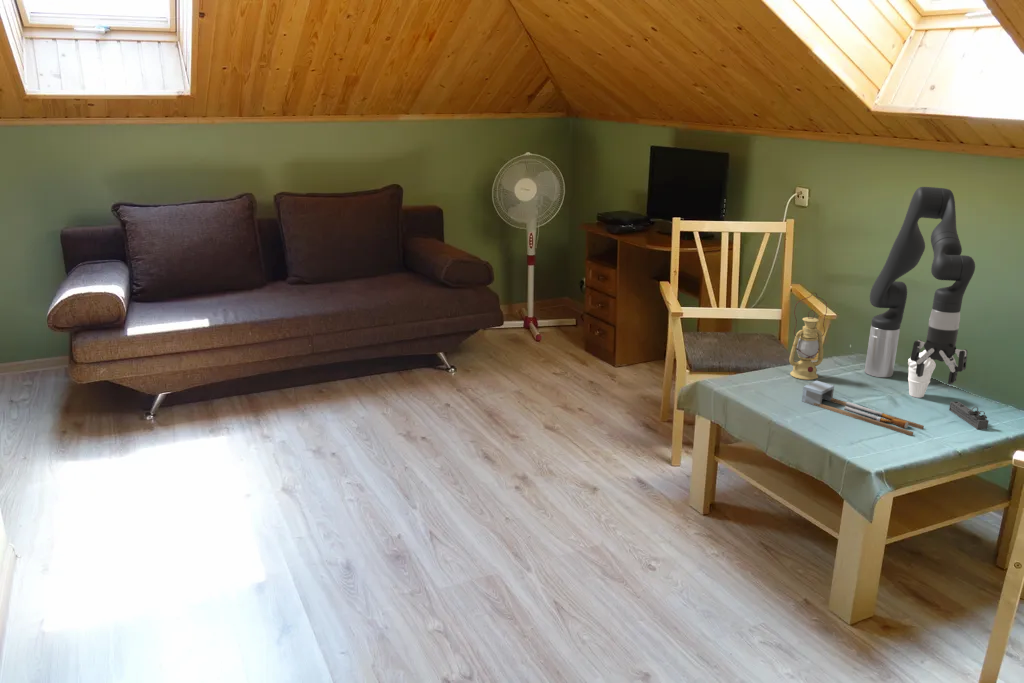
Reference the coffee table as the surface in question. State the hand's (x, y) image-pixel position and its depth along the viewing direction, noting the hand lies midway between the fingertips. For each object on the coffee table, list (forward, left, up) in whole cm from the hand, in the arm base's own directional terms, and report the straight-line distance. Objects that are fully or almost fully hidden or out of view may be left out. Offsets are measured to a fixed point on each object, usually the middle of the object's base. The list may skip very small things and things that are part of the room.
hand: (935, 379), depth 234 cm
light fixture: (-22, +3, -18) cm, 28 cm away
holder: (-1, -21, -17) cm, 27 cm away
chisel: (-1, -16, -18) cm, 24 cm away
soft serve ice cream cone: (-30, -16, -18) cm, 38 cm away
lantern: (-19, -50, -18) cm, 56 cm away
